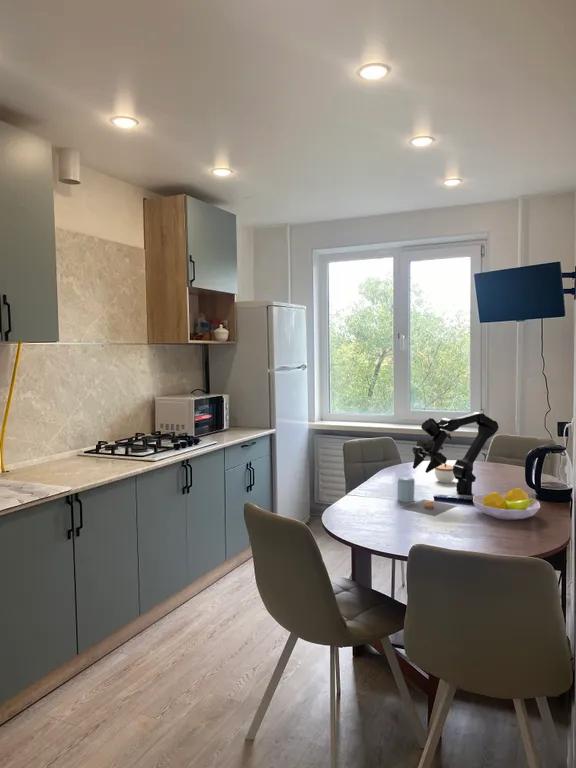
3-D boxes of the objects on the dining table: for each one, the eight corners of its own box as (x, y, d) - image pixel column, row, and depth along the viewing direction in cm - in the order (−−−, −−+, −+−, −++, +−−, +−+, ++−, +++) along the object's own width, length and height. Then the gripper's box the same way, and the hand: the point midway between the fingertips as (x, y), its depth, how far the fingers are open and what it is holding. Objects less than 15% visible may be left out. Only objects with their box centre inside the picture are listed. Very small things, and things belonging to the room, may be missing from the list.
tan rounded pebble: (433, 506, 251) (433, 500, 251) (433, 508, 247) (434, 503, 247) (424, 505, 252) (424, 500, 252) (424, 508, 248) (424, 502, 248)
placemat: (423, 500, 262) (423, 499, 262) (456, 506, 251) (456, 506, 251) (400, 509, 247) (400, 508, 247) (434, 517, 237) (434, 516, 237)
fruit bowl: (464, 506, 253) (464, 480, 252) (526, 506, 252) (527, 481, 251) (483, 526, 225) (484, 497, 224) (554, 527, 224) (555, 498, 224)
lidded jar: (456, 484, 292) (457, 466, 291) (434, 483, 294) (435, 465, 293) (455, 479, 302) (455, 462, 302) (433, 478, 304) (434, 461, 304)
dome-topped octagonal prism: (407, 497, 266) (408, 476, 265) (416, 501, 260) (417, 479, 259) (394, 499, 263) (395, 477, 262) (403, 503, 257) (404, 481, 256)
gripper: (413, 429, 272) (396, 457, 269) (439, 435, 255) (421, 464, 252) (428, 442, 276) (411, 469, 273) (454, 449, 259) (437, 478, 256)
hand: (419, 470), depth 263 cm, fingers open, 9 cm apart
